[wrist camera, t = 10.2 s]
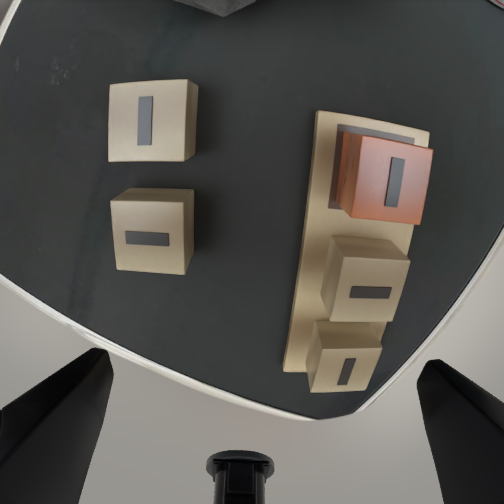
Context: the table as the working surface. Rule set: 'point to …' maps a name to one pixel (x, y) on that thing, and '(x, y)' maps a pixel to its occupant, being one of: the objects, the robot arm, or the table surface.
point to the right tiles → (354, 311)
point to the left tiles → (153, 149)
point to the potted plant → (218, 5)
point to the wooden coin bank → (383, 179)
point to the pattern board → (335, 223)
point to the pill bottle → (498, 3)
